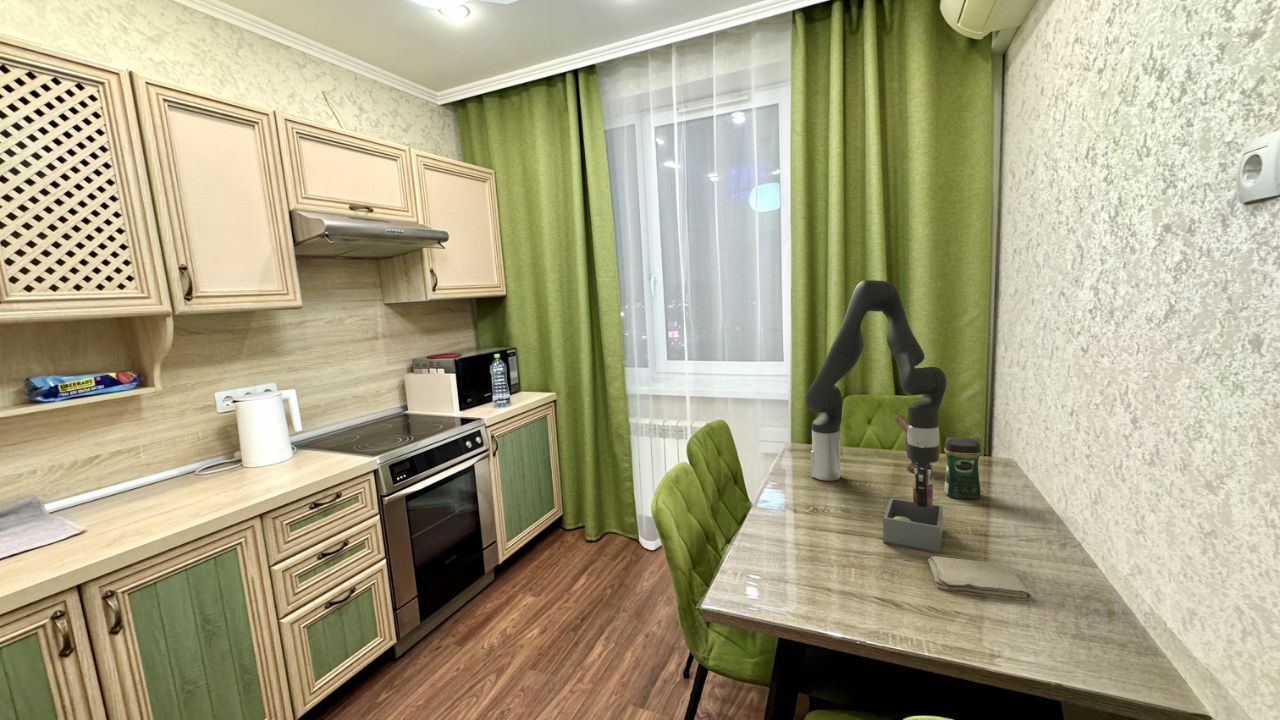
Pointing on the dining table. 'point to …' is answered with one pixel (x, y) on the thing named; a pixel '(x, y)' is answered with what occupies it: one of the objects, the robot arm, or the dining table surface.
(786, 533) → the dining table surface
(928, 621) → the dining table surface
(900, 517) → the green cylinder
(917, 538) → the bin
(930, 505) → the pink cube
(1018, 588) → the washcloth
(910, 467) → the mortar and pestle
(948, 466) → the coffee jar
